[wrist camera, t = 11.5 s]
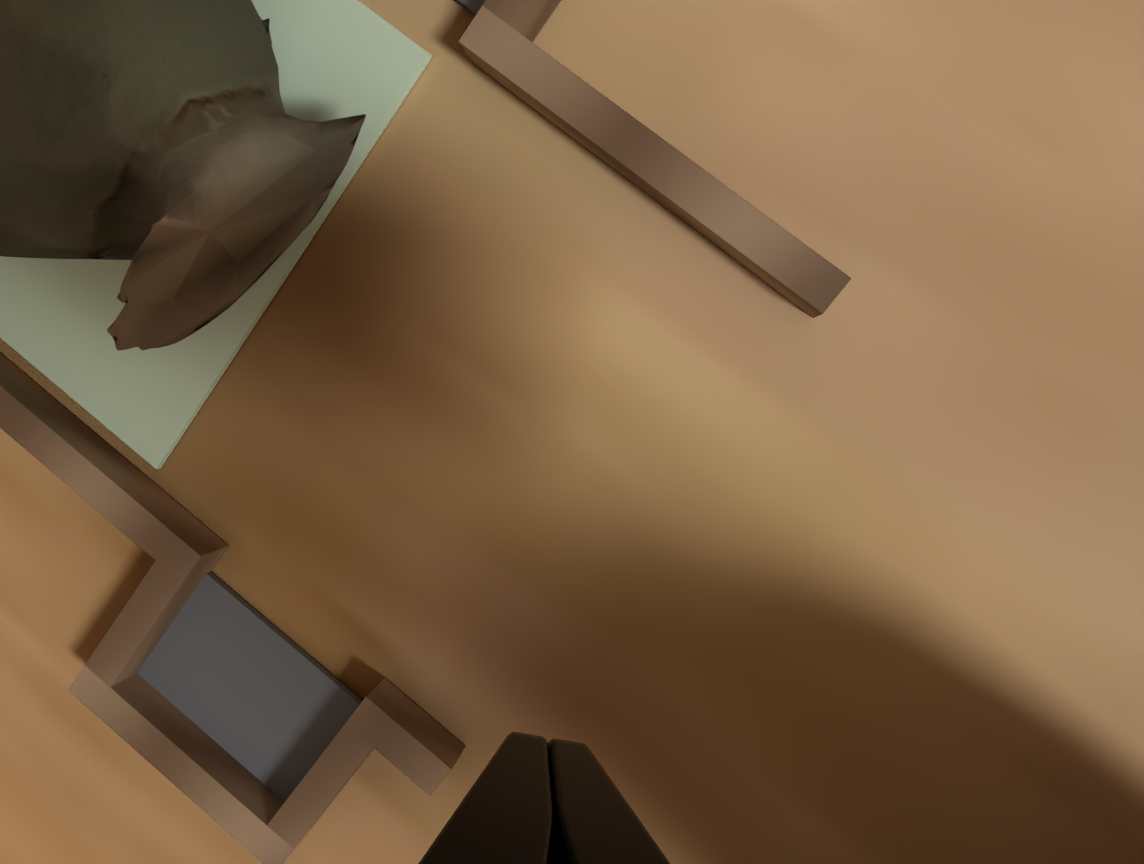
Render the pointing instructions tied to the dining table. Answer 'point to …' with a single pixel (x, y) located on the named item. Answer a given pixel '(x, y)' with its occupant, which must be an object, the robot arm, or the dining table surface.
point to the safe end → (195, 364)
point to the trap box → (193, 550)
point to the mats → (250, 680)
